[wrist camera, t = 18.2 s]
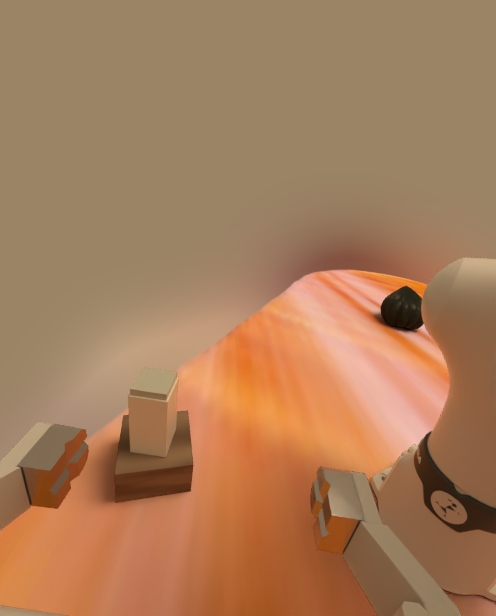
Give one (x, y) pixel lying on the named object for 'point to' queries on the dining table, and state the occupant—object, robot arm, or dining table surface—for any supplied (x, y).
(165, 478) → the walnut block
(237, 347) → the dining table surface
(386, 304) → the squash
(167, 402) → the tall cream box
